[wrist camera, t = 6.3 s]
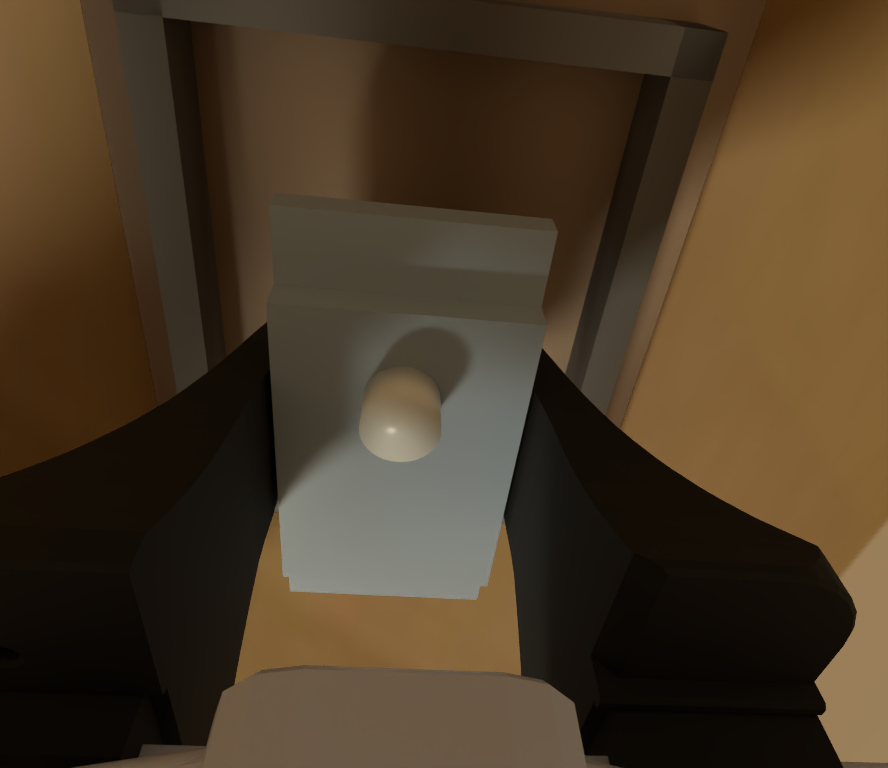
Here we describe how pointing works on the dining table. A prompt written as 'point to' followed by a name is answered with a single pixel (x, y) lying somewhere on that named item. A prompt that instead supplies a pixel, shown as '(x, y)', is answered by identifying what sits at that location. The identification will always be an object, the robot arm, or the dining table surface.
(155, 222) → the pocket plate
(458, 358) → the block
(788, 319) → the dining table surface
